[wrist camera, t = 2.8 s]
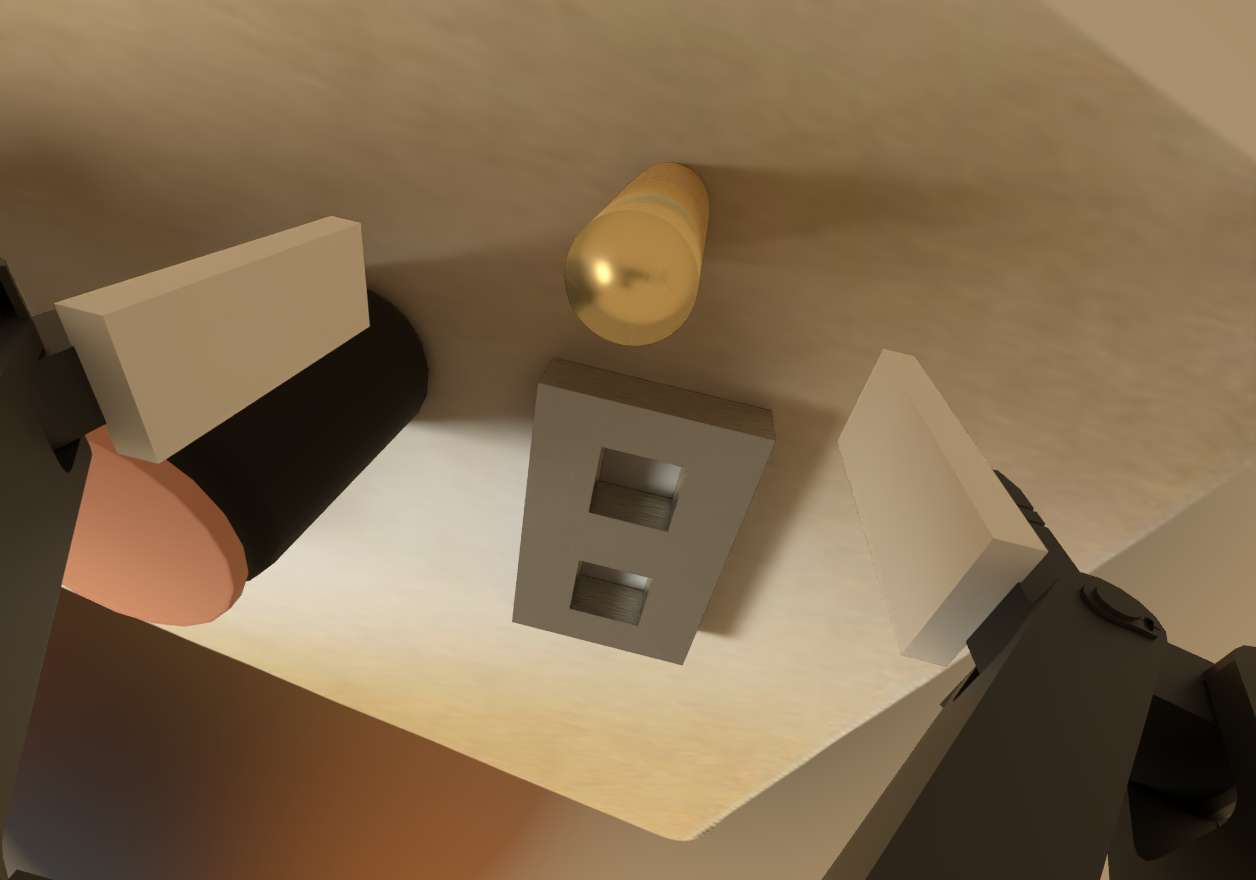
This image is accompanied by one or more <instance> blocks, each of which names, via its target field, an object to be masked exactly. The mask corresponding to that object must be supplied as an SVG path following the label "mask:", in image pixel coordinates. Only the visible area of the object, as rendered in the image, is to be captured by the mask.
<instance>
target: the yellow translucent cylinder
mask: <svg viewBox="0 0 1256 880" xmlns="http://www.w3.org/2000/svg"><path fill="white" fill-rule="evenodd" d="M709 211H710V203H709V196H708V193H707V190H706V188H705V185H704V184H703V182H702V180H701V179H700V178H699V177H698V175H697V174H695V173H694V172H693V171H692V170H690V169H689V168H687V167H685V166H683V165H680V164H677V163H660V164H656V165H654V166H651V167H649V168H648V169H646V170H644V171H643V172H642V173H641V174H640V175H639V176H638V177H637V178H636V179H635V180H634V181H632V182H631V183H630V184H629V185H628V186H627V187H626V188H625V189H624V190H623V191H622V192H621V193H620V194H619V195H618V196H617V197H616V198H615V199H614V200H613V201H612V202H611V203H610V204H609V205H607V206H606V207H605V208H604V209H603V210H602V211H601V212H600V213H599V214H598V215H597V216H596V217H595V218H594V219H593V220H592V221H591V222H590V223H589V224H588V225H587V226H586V227H585V228H584V229H583V230H582V231H581V232H580V233H579V234H578V236H577V237H576V239H575V240H574V242H573V244H572V246H571V248H570V250H569V253H568V256H567V259H566V264H565V286H566V291H567V295H568V298H569V301H570V303H571V305H572V307H573V309H574V311H575V312H576V314H577V316H578V317H579V318H580V319H581V321H582V322H583V323H584V324H585V325H586V326H587V327H588V328H589V329H590V330H592V331H593V332H594V333H595V334H597V335H599V336H600V337H602V338H604V339H606V340H608V341H611V342H614V343H617V344H622V345H630V346H639V345H647V344H651V343H654V342H657V341H660V340H662V339H664V338H666V337H668V336H669V335H671V334H672V333H674V332H675V331H676V330H677V329H678V328H679V327H680V326H681V325H682V324H683V323H684V322H685V320H686V319H687V318H688V316H689V315H690V313H691V311H692V309H693V307H694V304H695V301H696V298H697V293H698V287H699V280H700V273H701V266H702V260H703V253H704V246H705V239H706V232H707V226H708V219H709Z"/></svg>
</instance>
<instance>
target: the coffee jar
mask: <svg viewBox="0 0 1256 880" xmlns="http://www.w3.org/2000/svg"><path fill="white" fill-rule="evenodd" d="M367 301H368V312H369V324H370V326H369V327H368V328H366V329H365V330H363V331H362V332H360V333H359V334H357V335H356V336H354V337H352V338H351V339H349V340H348V341H346V342H345V343H343V344H342V345H340V346H339V347H337V348H336V349H334V350H333V351H331V352H329V353H328V354H326V355H325V356H323V357H322V358H320V359H319V360H317V361H316V362H314V363H313V364H311V365H310V366H308V367H307V368H305V369H303V370H302V371H300V372H299V373H297V374H296V375H294V376H293V377H291V378H290V379H288V380H287V381H285V382H284V383H282V384H280V385H279V386H277V387H276V388H274V389H273V390H271V391H270V392H268V393H267V394H265V395H264V396H262V397H261V398H259V399H257V400H256V401H254V402H253V403H251V404H250V405H248V406H247V407H245V408H244V409H242V410H241V411H239V412H238V413H236V414H234V415H233V416H231V417H230V418H228V419H227V420H225V421H224V422H222V423H221V424H219V425H218V426H216V427H215V428H213V429H211V430H210V431H208V432H207V433H205V434H204V435H202V436H201V437H199V438H198V439H196V440H195V441H193V442H192V443H190V444H189V445H187V446H185V447H184V448H182V449H181V450H179V451H178V452H176V453H175V454H173V455H172V456H170V457H169V458H167V459H166V460H164V461H162V462H161V463H159V464H157V463H153V462H149V461H145V460H141V459H138V458H134V457H130V456H126V455H122V454H118V453H117V451H116V449H115V447H114V444H113V442H112V440H111V437H110V435H109V433H108V430H107V428H106V426H105V425H103V426H101V427H99V428H97V429H95V430H93V431H92V432H90V433H88V434H86V435H85V436H86V438H87V440H88V442H89V445H90V447H91V451H92V458H91V462H90V467H89V471H88V475H87V479H86V483H85V488H84V492H83V496H82V500H81V505H80V509H79V513H78V517H77V521H76V526H75V530H74V534H73V538H72V543H71V547H70V551H69V555H68V560H67V564H66V568H65V572H64V576H63V581H62V584H63V585H64V586H66V587H67V588H69V589H71V590H72V591H74V592H75V593H77V594H79V595H81V596H83V597H85V598H87V599H90V600H92V601H94V602H96V603H99V604H100V605H103V606H104V607H107V608H109V609H111V610H113V611H115V612H119V613H121V614H125V615H128V616H131V617H135V618H138V619H141V620H144V621H148V622H151V623H157V624H166V625H176V626H191V625H196V624H202V623H208V622H212V621H213V620H215V619H216V618H217V617H219V616H220V615H222V614H223V613H224V612H226V611H227V610H228V609H230V608H231V607H232V606H233V604H234V603H235V602H236V601H237V599H238V598H239V597H240V596H241V594H242V591H243V588H244V585H245V582H246V581H250V580H251V579H253V578H254V577H256V576H257V575H259V574H260V573H261V572H263V571H264V570H265V569H267V568H268V567H269V566H271V565H272V564H273V563H275V562H276V561H277V560H278V559H279V558H280V556H281V555H282V554H283V553H284V552H285V551H286V550H287V549H288V548H289V547H290V546H291V545H292V544H293V543H294V542H295V541H296V540H297V539H298V538H299V537H300V536H301V535H302V534H303V532H304V531H305V530H306V529H307V528H308V527H309V526H310V525H311V524H312V523H313V522H314V521H315V520H316V519H317V518H318V517H319V516H320V515H321V514H322V513H323V512H324V511H325V510H326V508H327V507H328V506H329V505H330V504H331V503H332V502H333V501H334V500H335V499H336V498H337V497H338V496H339V495H340V494H341V493H342V492H343V491H344V490H345V489H346V488H347V487H348V486H349V484H350V483H351V482H352V481H353V480H354V479H355V478H356V477H357V476H358V475H359V474H360V473H361V472H362V471H363V470H364V469H365V468H366V467H367V466H368V465H369V464H370V463H371V462H372V460H373V459H374V458H375V457H376V456H377V455H378V454H379V453H380V452H381V451H382V450H383V449H384V448H385V447H386V446H387V445H388V444H389V443H390V442H391V441H392V440H393V439H394V438H395V436H396V435H397V434H398V433H399V432H400V431H401V430H402V429H403V428H404V427H405V426H406V425H407V424H408V423H409V422H410V421H411V420H412V419H413V418H414V417H415V416H416V415H417V413H418V412H419V410H420V408H421V406H422V404H423V402H424V400H425V398H426V396H427V388H428V373H429V370H428V366H427V361H426V358H425V354H424V350H423V346H422V343H421V341H420V340H419V338H418V336H417V334H416V333H415V331H414V329H413V328H412V326H411V324H410V322H409V321H408V320H407V319H406V318H405V317H404V316H403V315H402V314H401V313H400V312H399V311H398V310H397V309H396V308H395V307H394V306H393V305H392V304H391V303H389V302H388V301H386V300H385V299H383V298H382V297H380V296H378V295H377V294H375V293H374V292H372V291H371V290H368V289H367Z"/></svg>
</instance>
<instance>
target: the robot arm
mask: <svg viewBox="0 0 1256 880" xmlns="http://www.w3.org/2000/svg"><path fill="white" fill-rule="evenodd" d="M53 304H54V306H55V308H56V309H55V310H52V311H48V312H45V313H42V314H39V315H36V316H33V317H31V315H30V313H29V311H28V309H27V307H26V305H25V302H24V300H23V298H22V296H21V294H20V291H19V289H18V287H17V285H16V283H15V280H14V278H13V276H12V274H11V272H10V269H9V267H8V265H7V263H6V261H5V260H4V259H2V258H0V880H52V879H48V878H45V877H41V876H38V875H34V874H31V873H27V872H23V871H20V870H16V871H15V872H14V873H13V875H12V876H11V877H10V878H9V879H8V876H7V871H6V868H5V864H4V860H3V852H2V838H3V832H4V826H5V822H6V817H7V813H8V809H9V805H10V800H11V796H12V792H13V788H14V783H15V779H16V775H17V771H18V767H19V762H20V758H21V754H22V750H23V746H24V741H25V737H26V733H27V729H28V724H29V720H30V716H31V711H32V707H33V703H34V699H35V695H36V690H37V686H38V682H39V678H40V673H41V669H42V665H43V661H44V657H45V653H46V648H47V644H48V640H49V635H50V631H51V627H52V623H53V618H54V614H55V610H56V606H57V602H58V598H59V593H60V589H61V585H62V581H63V576H64V572H65V568H66V564H67V560H68V555H69V551H70V547H71V543H72V538H73V534H74V530H75V526H76V521H77V517H78V513H79V509H80V505H81V500H82V496H83V492H84V488H85V483H86V479H87V475H88V471H89V467H90V462H91V458H92V451H91V447H90V445H89V442H88V440H87V438H86V436H85V435H86V434H88V433H90V432H92V431H93V430H95V429H97V428H99V427H101V426H103V425H105V426H106V428H107V430H108V433H109V435H110V437H111V440H112V442H113V444H114V447H115V449H116V451H117V453H118V454H122V455H126V456H130V457H134V458H138V459H141V460H145V461H149V462H153V463H157V464H159V463H161V462H162V461H164V460H166V459H167V458H169V457H170V456H172V455H173V454H175V453H176V452H178V451H179V450H181V449H182V448H184V447H185V446H187V445H189V444H190V443H192V442H193V441H195V440H196V439H198V438H199V437H201V436H202V435H204V434H205V433H207V432H208V431H210V430H211V429H213V428H215V427H216V426H218V425H219V424H221V423H222V422H224V421H225V420H227V419H228V418H230V417H231V416H233V415H234V414H236V413H238V412H239V411H241V410H242V409H244V408H245V407H247V406H248V405H250V404H251V403H253V402H254V401H256V400H257V399H259V398H261V397H262V396H264V395H265V394H267V393H268V392H270V391H271V390H273V389H274V388H276V387H277V386H279V385H280V384H282V383H284V382H285V381H287V380H288V379H290V378H291V377H293V376H294V375H296V374H297V373H299V372H300V371H302V370H303V369H305V368H307V367H308V366H310V365H311V364H313V363H314V362H316V361H317V360H319V359H320V358H322V357H323V356H325V355H326V354H328V353H329V352H331V351H333V350H334V349H336V348H337V347H339V346H340V345H342V344H343V343H345V342H346V341H348V340H349V339H351V338H352V337H354V336H356V335H357V334H359V333H360V332H362V331H363V330H365V329H366V328H368V327H369V326H370V324H369V312H368V301H367V289H366V278H365V266H364V255H363V243H362V232H361V223H359V222H355V221H350V220H346V219H342V218H338V217H334V216H329V217H326V218H323V219H320V220H316V221H313V222H310V223H307V224H304V225H301V226H297V227H294V228H291V229H288V230H285V231H281V232H278V233H275V234H272V235H269V236H266V237H262V238H259V239H256V240H253V241H250V242H246V243H243V244H240V245H237V246H234V247H231V248H227V249H224V250H221V251H218V252H215V253H211V254H208V255H205V256H202V257H199V258H196V259H192V260H189V261H186V262H183V263H180V264H177V265H173V266H170V267H167V268H164V269H161V270H157V271H154V272H151V273H148V274H145V275H142V276H138V277H135V278H132V279H129V280H126V281H122V282H119V283H116V284H113V285H110V286H107V287H103V288H100V289H97V290H94V291H91V292H87V293H84V294H81V295H78V296H75V297H72V298H68V299H65V300H62V301H59V302H56V303H53ZM837 442H838V446H839V449H840V453H841V456H842V459H843V463H844V466H845V469H846V473H847V476H848V479H849V483H850V486H851V489H852V493H853V496H854V499H855V503H856V506H857V509H858V513H859V516H860V519H861V523H862V526H863V529H864V533H865V536H866V539H867V543H868V546H869V549H870V553H871V556H872V559H873V563H874V566H875V569H876V573H877V576H878V580H879V583H880V586H881V590H882V593H883V596H884V600H885V603H886V606H887V610H888V613H889V616H890V620H891V623H892V626H893V630H894V633H895V636H896V640H897V643H898V646H899V650H900V653H901V655H902V656H906V657H910V658H914V659H918V660H922V661H926V662H930V663H933V664H937V665H941V666H945V667H947V666H948V665H949V663H950V662H951V661H952V660H953V659H954V658H955V657H956V656H957V654H958V653H959V652H960V651H961V650H962V649H963V648H964V646H965V645H966V644H967V646H968V648H969V650H970V653H971V655H972V658H973V660H974V662H975V665H976V666H975V668H974V669H973V670H972V671H971V672H970V673H969V674H968V675H967V676H966V677H965V678H964V679H963V680H962V681H961V682H960V683H959V685H958V686H957V687H956V688H955V689H954V690H953V691H952V692H951V693H950V694H949V695H948V696H947V697H946V698H945V699H944V701H943V702H942V703H941V704H940V705H941V706H942V707H943V709H942V710H941V712H940V713H939V714H938V716H937V717H936V719H935V720H934V722H933V723H932V724H931V726H930V727H929V729H928V730H927V732H926V733H925V734H924V736H923V737H922V739H921V740H920V741H919V743H918V744H917V746H916V747H915V748H914V750H913V751H912V753H911V754H910V756H909V757H908V758H907V760H906V761H905V763H904V764H903V765H902V767H901V768H900V770H899V771H898V773H897V774H896V775H895V777H894V778H893V780H892V781H891V783H890V784H889V785H888V787H887V788H886V789H885V791H884V792H883V794H882V795H881V797H880V798H879V799H878V801H877V802H876V804H875V805H874V806H873V808H872V809H871V811H870V812H869V814H868V815H867V816H866V818H865V819H864V821H863V822H862V823H861V825H860V826H859V828H858V829H857V831H856V832H855V833H854V835H853V836H852V838H851V839H850V841H849V842H848V843H847V845H846V846H845V848H844V849H843V851H842V852H841V853H840V855H839V856H838V857H837V859H836V860H835V862H834V863H833V864H832V866H831V867H830V869H829V870H828V872H827V873H826V875H825V876H824V877H823V879H822V880H1100V878H1101V874H1102V871H1103V868H1104V864H1105V861H1106V857H1107V854H1108V865H1109V878H1110V880H1256V647H1252V646H1245V645H1244V646H1241V647H1239V648H1237V649H1235V650H1233V651H1232V652H1230V653H1229V654H1228V655H1226V656H1225V657H1224V658H1222V659H1221V660H1220V661H1218V662H1217V663H1216V664H1214V663H1212V662H1210V661H1208V660H1206V659H1203V658H1201V657H1199V656H1197V655H1194V654H1192V653H1190V652H1188V651H1185V650H1183V649H1181V648H1179V647H1177V646H1174V645H1172V644H1170V643H1168V642H1167V637H1166V631H1165V630H1164V628H1163V627H1162V625H1161V624H1160V623H1159V621H1158V620H1157V618H1156V617H1155V616H1154V615H1153V614H1152V613H1151V612H1150V611H1149V610H1148V609H1146V608H1145V607H1144V606H1143V605H1142V604H1141V603H1140V602H1139V601H1137V600H1136V599H1134V598H1133V597H1132V596H1130V595H1129V594H1127V593H1126V592H1124V591H1123V590H1121V589H1120V588H1118V587H1116V586H1114V585H1112V584H1110V583H1108V582H1106V581H1104V580H1102V579H1101V578H1098V577H1094V576H1091V575H1088V574H1085V573H1082V572H1080V571H1079V570H1078V569H1077V567H1076V566H1075V565H1074V563H1073V562H1072V560H1071V559H1070V558H1069V556H1068V555H1067V553H1066V552H1065V551H1064V549H1063V548H1062V547H1061V545H1060V544H1059V542H1058V541H1057V540H1056V538H1055V537H1054V535H1053V534H1052V533H1051V531H1050V530H1049V529H1048V528H1046V527H1044V525H1045V523H1044V522H1043V520H1042V519H1041V517H1040V516H1039V515H1038V513H1037V512H1034V511H1033V509H1034V508H1033V506H1032V505H1031V504H1030V502H1029V501H1028V499H1027V498H1026V497H1025V495H1024V494H1023V492H1022V491H1021V490H1020V489H1019V488H1018V487H1017V486H1016V485H1014V484H1013V483H1012V482H1011V481H1010V480H1009V479H1007V478H1006V477H1005V476H1004V475H1003V474H1001V473H1000V472H999V471H997V470H993V469H991V467H990V466H989V464H988V463H987V461H986V460H985V458H984V457H983V456H982V454H981V453H980V451H979V450H978V448H977V447H976V445H975V444H974V442H973V441H972V439H971V438H970V437H969V435H968V434H967V432H966V431H965V429H964V428H963V426H962V425H961V423H960V422H959V420H958V419H957V418H956V416H955V415H954V413H953V412H952V410H951V409H950V407H949V406H948V404H947V403H946V401H945V400H944V399H943V397H942V396H941V394H940V393H939V391H938V390H937V388H936V387H935V385H934V384H933V383H932V381H931V380H930V378H929V377H928V375H927V374H926V372H925V371H924V369H923V368H922V366H921V365H920V364H919V362H918V361H917V359H916V358H915V356H911V355H907V354H903V353H899V352H895V351H890V350H886V349H883V350H882V352H881V354H880V356H879V358H878V360H877V362H876V364H875V366H874V368H873V370H872V372H871V374H870V376H869V378H868V380H867V382H866V384H865V386H864V388H863V390H862V392H861V394H860V396H859V398H858V401H857V403H856V405H855V407H854V409H853V411H852V413H851V415H850V417H849V419H848V421H847V423H846V425H845V427H844V429H843V431H842V433H841V435H840V437H839V439H838V441H837Z"/></svg>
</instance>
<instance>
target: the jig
mask: <svg viewBox="0 0 1256 880" xmlns="http://www.w3.org/2000/svg"><path fill="white" fill-rule="evenodd" d="M775 442H776V438H775V431H774V424H773V416H772V411H771V410H767V409H762V408H758V407H754V406H750V405H746V404H742V403H738V402H734V401H729V400H725V399H721V398H717V397H713V396H709V395H705V394H701V393H697V392H692V391H688V390H684V389H680V388H676V387H672V386H668V385H664V384H659V383H655V382H651V381H647V380H643V379H639V378H635V377H631V376H626V375H622V374H618V373H614V372H610V371H606V370H602V369H598V368H594V367H589V366H585V365H581V364H577V363H573V362H569V361H565V360H561V359H556V358H554V359H553V360H552V362H551V363H550V365H549V366H548V368H547V369H546V371H545V373H544V374H543V376H542V377H541V379H540V380H539V382H538V386H537V395H536V404H535V414H534V423H533V432H532V442H531V451H530V460H529V470H528V479H527V488H526V498H525V507H524V516H523V526H522V535H521V545H520V554H519V563H518V573H517V582H516V591H515V601H514V610H513V619H512V622H515V623H519V624H523V625H527V626H530V627H534V628H538V629H542V630H546V631H550V632H554V633H558V634H562V635H566V636H570V637H574V638H577V639H581V640H585V641H589V642H593V643H597V644H601V645H605V646H609V647H613V648H617V649H621V650H624V651H628V652H632V653H636V654H640V655H644V656H648V657H652V658H656V659H660V660H664V661H668V662H671V663H675V664H679V665H683V663H684V661H685V658H686V656H687V654H688V651H689V649H690V646H691V644H692V641H693V639H694V637H695V634H696V632H697V629H698V627H699V625H700V622H701V620H702V617H703V615H704V613H705V610H706V608H707V605H708V603H709V601H710V598H711V596H712V593H713V591H714V589H715V586H716V584H717V581H718V579H719V577H720V574H721V572H722V569H723V567H724V565H725V562H726V560H727V557H728V555H729V553H730V550H731V548H732V545H733V543H734V540H735V538H736V536H737V533H738V531H739V528H740V526H741V524H742V521H743V519H744V516H745V514H746V512H747V509H748V507H749V504H750V502H751V500H752V497H753V495H754V492H755V490H756V488H757V485H758V483H759V480H760V478H761V476H762V473H763V471H764V468H765V466H766V464H767V461H768V459H769V456H770V454H771V452H772V449H773V447H774V444H775ZM605 448H608V449H612V450H616V451H620V452H624V453H628V454H632V455H636V456H641V457H645V458H649V459H653V460H657V461H661V462H665V463H669V464H673V465H677V466H681V467H682V469H681V472H680V475H679V479H678V482H677V485H676V488H675V492H674V495H673V498H672V499H670V498H666V497H662V496H658V495H654V494H650V493H646V492H642V491H638V490H634V489H630V488H626V487H622V486H618V485H614V484H610V483H606V482H602V481H599V477H600V472H601V467H602V462H603V458H604V453H605ZM582 561H584V562H588V563H592V564H596V565H600V566H604V567H608V568H612V569H616V570H620V571H624V572H628V573H632V574H636V575H640V576H644V577H648V579H647V583H646V586H645V589H644V591H642V590H638V589H634V588H630V587H626V586H622V585H618V584H614V583H610V582H606V581H602V580H598V579H594V578H590V577H587V576H583V575H580V571H581V566H582Z"/></svg>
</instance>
